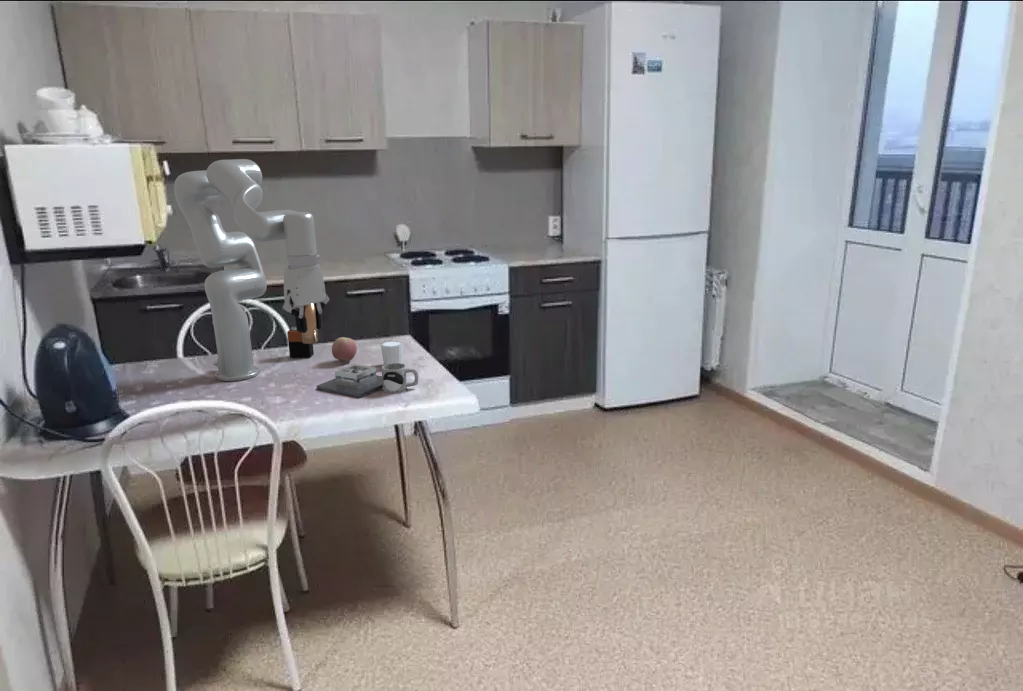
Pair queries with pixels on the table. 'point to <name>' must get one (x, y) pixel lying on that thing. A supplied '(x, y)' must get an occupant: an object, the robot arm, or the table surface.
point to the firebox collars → (354, 381)
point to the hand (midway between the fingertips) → (309, 329)
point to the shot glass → (392, 352)
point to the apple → (344, 349)
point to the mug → (397, 377)
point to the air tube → (310, 324)
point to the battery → (298, 345)
